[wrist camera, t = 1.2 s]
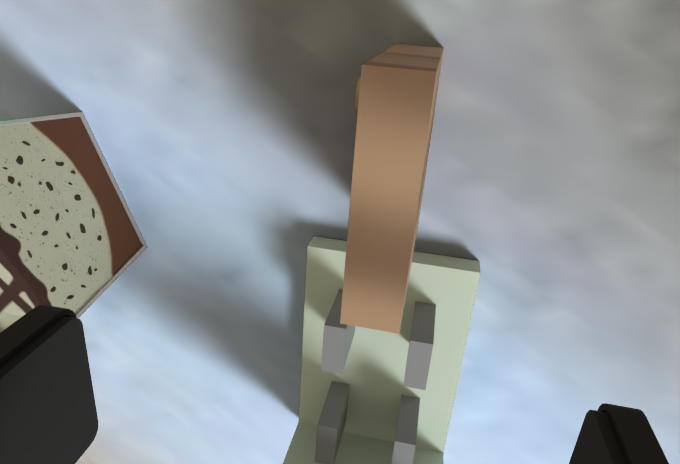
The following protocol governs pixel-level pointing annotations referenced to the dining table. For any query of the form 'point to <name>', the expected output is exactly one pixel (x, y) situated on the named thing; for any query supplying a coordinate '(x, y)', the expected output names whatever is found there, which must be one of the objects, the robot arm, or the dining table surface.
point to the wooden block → (388, 182)
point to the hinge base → (381, 365)
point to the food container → (59, 217)
